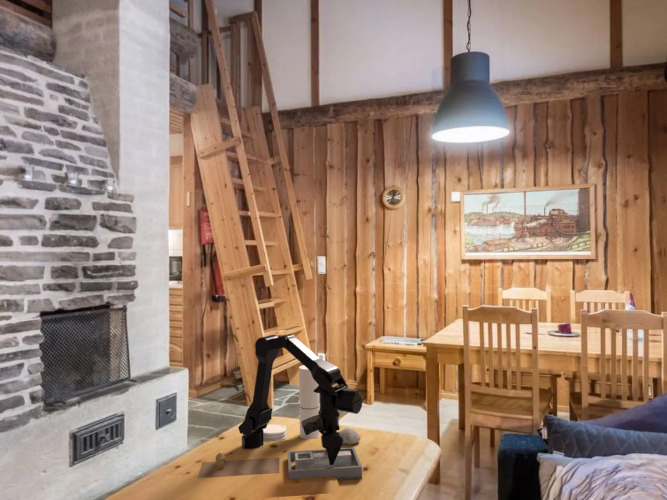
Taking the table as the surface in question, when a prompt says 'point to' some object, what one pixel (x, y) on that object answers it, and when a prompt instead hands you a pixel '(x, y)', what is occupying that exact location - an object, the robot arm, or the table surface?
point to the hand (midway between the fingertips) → (329, 458)
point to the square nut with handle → (321, 460)
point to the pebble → (349, 436)
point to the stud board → (238, 467)
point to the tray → (339, 472)
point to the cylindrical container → (307, 400)
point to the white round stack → (274, 432)
